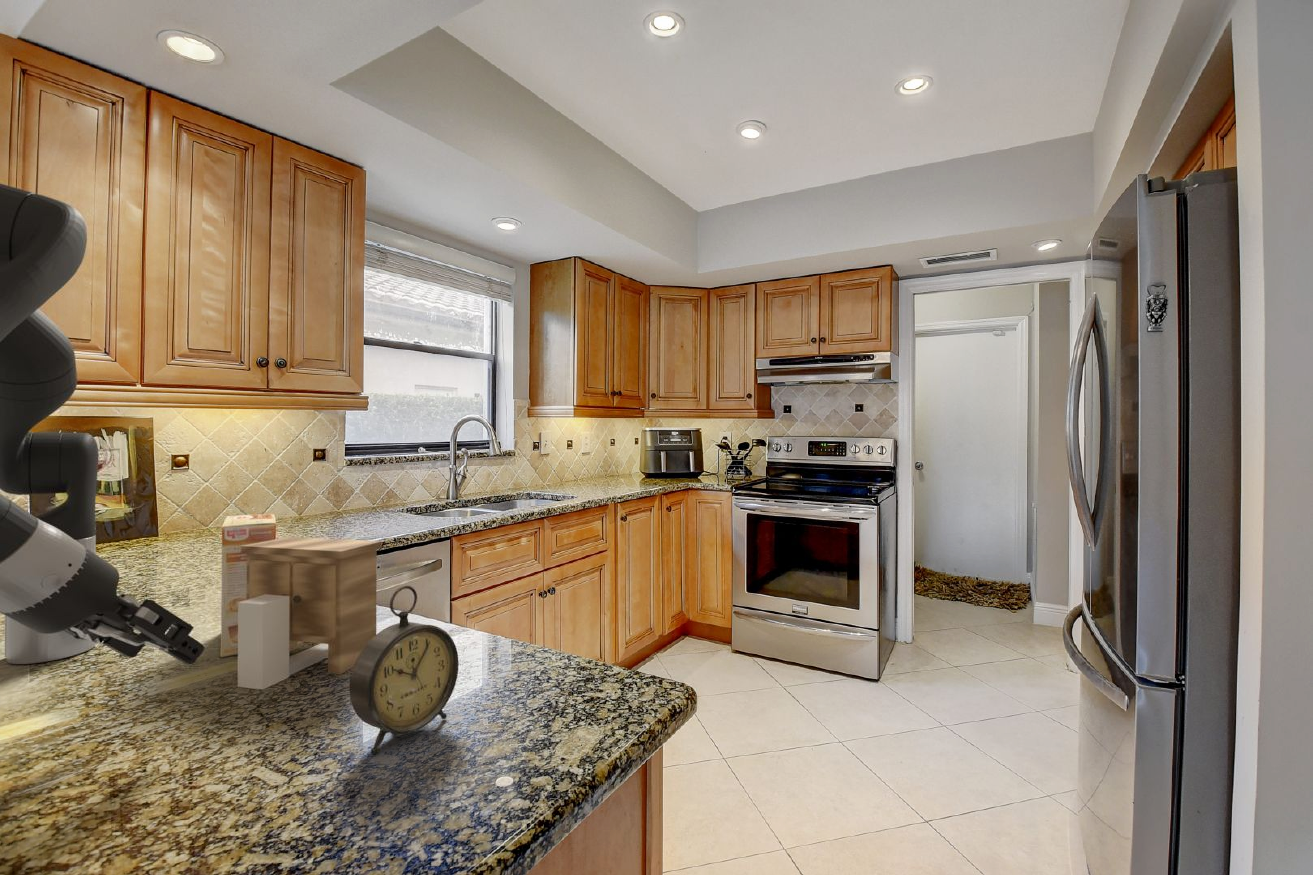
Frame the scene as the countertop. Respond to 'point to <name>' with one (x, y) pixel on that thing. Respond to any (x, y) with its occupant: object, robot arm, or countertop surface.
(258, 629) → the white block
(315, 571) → the cabinet
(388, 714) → the alarm clock
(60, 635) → the robot arm
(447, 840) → the countertop surface
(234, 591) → the coffeecake box
